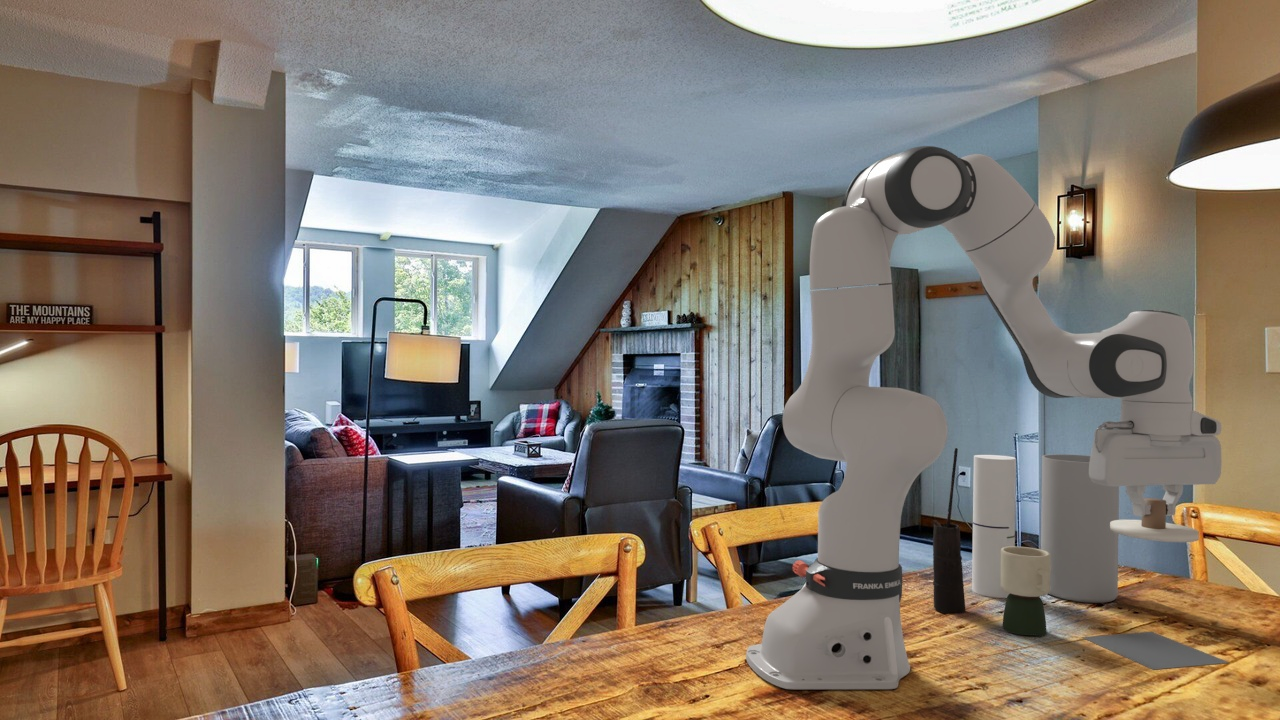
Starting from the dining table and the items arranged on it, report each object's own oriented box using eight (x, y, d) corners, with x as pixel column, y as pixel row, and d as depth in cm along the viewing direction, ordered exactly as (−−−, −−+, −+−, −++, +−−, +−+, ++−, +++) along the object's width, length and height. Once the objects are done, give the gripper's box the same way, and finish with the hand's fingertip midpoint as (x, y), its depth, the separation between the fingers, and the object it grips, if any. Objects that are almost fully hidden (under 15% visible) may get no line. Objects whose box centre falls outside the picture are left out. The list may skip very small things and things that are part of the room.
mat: (1153, 673, 111) (1153, 669, 111) (1081, 641, 123) (1081, 637, 123) (1229, 666, 113) (1229, 662, 113) (1151, 635, 126) (1151, 631, 126)
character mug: (1068, 645, 121) (1070, 559, 121) (1026, 647, 120) (1027, 560, 120) (1022, 621, 132) (1023, 542, 132) (982, 623, 131) (984, 543, 131)
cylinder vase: (1132, 604, 142) (1134, 463, 142) (1061, 603, 142) (1063, 462, 142) (1093, 584, 155) (1095, 454, 154) (1028, 583, 155) (1029, 454, 155)
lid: (1154, 543, 112) (1155, 507, 112) (1092, 527, 122) (1093, 494, 122) (1218, 540, 114) (1219, 505, 114) (1152, 525, 125) (1153, 492, 125)
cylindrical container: (964, 586, 152) (966, 454, 152) (1000, 586, 153) (1002, 454, 153) (984, 598, 145) (986, 459, 145) (1022, 597, 146) (1024, 459, 146)
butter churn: (903, 602, 142) (905, 443, 142) (951, 598, 144) (953, 442, 144) (934, 618, 133) (936, 449, 133) (984, 615, 135) (986, 448, 135)
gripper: (1113, 423, 113) (1111, 521, 113) (1231, 423, 117) (1229, 517, 117) (1079, 419, 119) (1077, 513, 119) (1192, 419, 124) (1190, 509, 124)
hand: (1153, 515), depth 118 cm, fingers closed on lid, 3 cm apart
